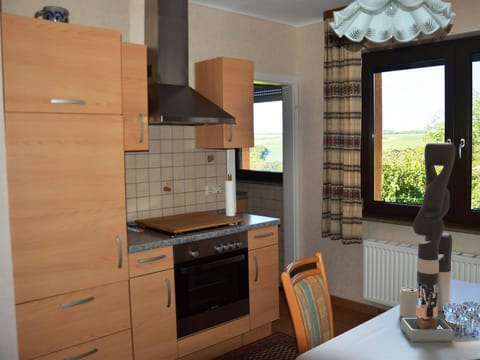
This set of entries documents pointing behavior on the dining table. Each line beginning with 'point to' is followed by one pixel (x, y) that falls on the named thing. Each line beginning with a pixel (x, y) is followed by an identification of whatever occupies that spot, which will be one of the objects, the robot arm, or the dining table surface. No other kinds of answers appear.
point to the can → (408, 302)
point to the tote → (427, 331)
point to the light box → (425, 311)
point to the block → (426, 323)
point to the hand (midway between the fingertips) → (426, 314)
